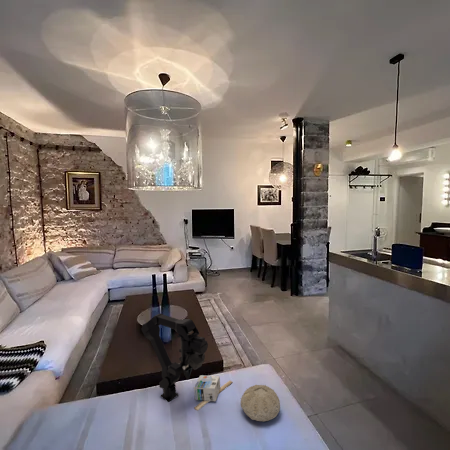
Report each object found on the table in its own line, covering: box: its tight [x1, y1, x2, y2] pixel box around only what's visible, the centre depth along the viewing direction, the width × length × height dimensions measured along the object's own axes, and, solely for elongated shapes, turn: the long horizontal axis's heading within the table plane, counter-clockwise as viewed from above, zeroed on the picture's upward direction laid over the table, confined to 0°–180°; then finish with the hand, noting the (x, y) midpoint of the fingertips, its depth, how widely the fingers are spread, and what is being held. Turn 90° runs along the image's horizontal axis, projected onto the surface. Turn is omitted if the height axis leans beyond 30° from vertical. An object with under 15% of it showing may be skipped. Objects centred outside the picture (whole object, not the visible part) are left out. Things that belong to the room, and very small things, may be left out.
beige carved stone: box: [240, 384, 281, 422], centre depth 125 cm, size 18×18×10 cm
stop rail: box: [193, 380, 234, 411], centre depth 137 cm, size 2×26×1 cm, turn 139°
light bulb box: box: [193, 374, 221, 402], centre depth 137 cm, size 11×7×11 cm
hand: (187, 379), depth 130 cm, fingers closed
